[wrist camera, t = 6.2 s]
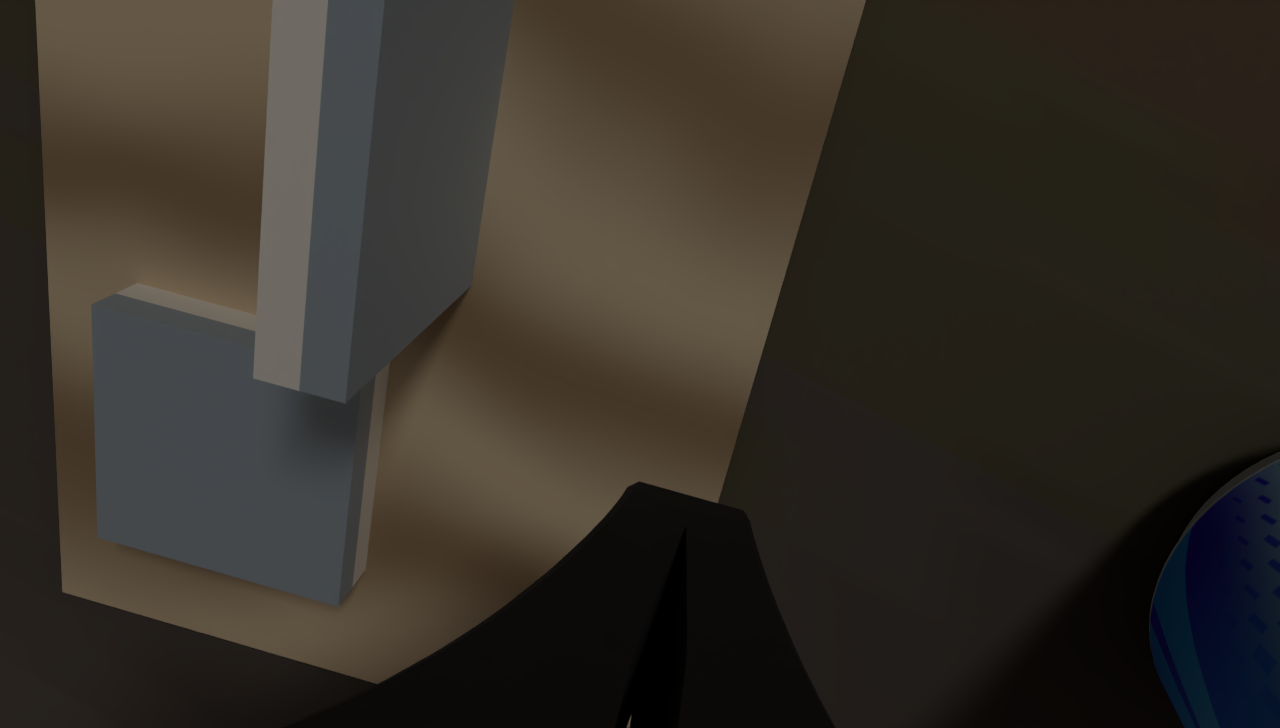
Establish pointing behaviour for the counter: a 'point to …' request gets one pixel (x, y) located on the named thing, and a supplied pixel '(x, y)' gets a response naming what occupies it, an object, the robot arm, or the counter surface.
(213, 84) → the cork mat
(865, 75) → the counter surface
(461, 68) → the tile near
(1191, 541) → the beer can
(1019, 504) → the counter surface
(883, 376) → the counter surface
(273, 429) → the tile far
